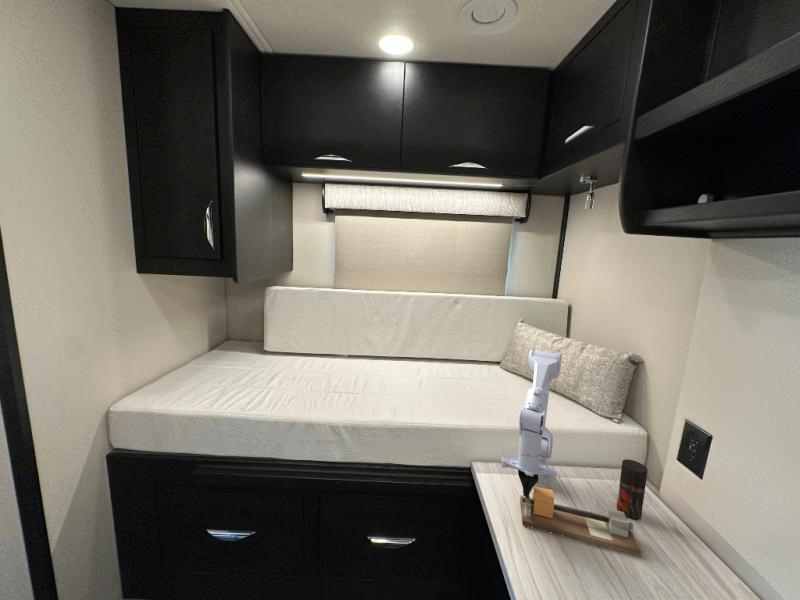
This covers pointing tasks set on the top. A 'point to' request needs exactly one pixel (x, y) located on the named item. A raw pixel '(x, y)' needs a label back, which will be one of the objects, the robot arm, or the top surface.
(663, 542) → the top surface
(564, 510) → the cord board
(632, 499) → the deodorant
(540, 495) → the orange notched block
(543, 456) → the robot arm
